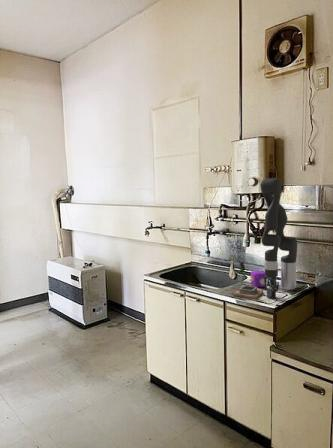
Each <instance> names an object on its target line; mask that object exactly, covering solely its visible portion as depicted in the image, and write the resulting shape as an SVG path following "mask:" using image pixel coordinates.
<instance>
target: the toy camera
mask: <svg viewBox="0 0 333 448" xmlns="http://www.w3.org/2000/svg"><path fill="white" fill-rule="evenodd" d="M264 277H266V276H265V270H264V269H260V270H252V271H251V272H250V284H251V286H254V287H257V288H266V287H265V283H264Z"/></svg>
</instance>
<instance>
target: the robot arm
mask: <svg viewBox="0 0 333 448" xmlns="http://www.w3.org/2000/svg"><path fill="white" fill-rule="evenodd" d="M282 188H283V184H282V180H281V179H280V178H279V177H273V178H272V177H271V178H263V179H262V180H261V181H260V191H261V193H262V196H263V198H264V200H265V203H266V206H267V210H266V213H265V215H264V230H263V232H262V233H263V234H262V236H261V245H263V246H264V247H273V248H272V249H267V250H265V251H264V271H265V276H266V277H264V283H265V287H264V288H266V289H267V285H270V288H271V290H272V298H275V297H277V296H276V295H277V292H278V291H279V288H281V289H282V290H286V291H287V290H288V291H290V290H291V291H293V289H294V290H296V289H297V256H298V239H297V238H296V237H295V236H286V235H285V234H284V230H285V227H286V225H287V224H288V219H289V218H288V215H287V211H286V209H285V207H284V206H283V205H282V204H280V202H281V196H282ZM271 231H274V233H270V232H271ZM279 250H280V251H284V252H285V251H286V252H288V254H287V255H282V256H281V257H280V282H279V281H277V277H278V276H279V263H278V254H279V253H278V252H279ZM273 285H274V286H273ZM279 286H280V287H279ZM273 287H274V288H273ZM295 288H296V289H295ZM275 299H276V298H275Z"/></svg>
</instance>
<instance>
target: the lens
mask: <svg viewBox="0 0 333 448" xmlns="http://www.w3.org/2000/svg"><path fill="white" fill-rule="evenodd" d="M273 286H274V285H273ZM273 288H274V287H273ZM276 297H277V296H276ZM276 297H275V298H272V290H271V288H270V285H267V288H266V298H267V299H269V300H275V299H276Z"/></svg>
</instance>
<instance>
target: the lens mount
mask: <svg viewBox="0 0 333 448" xmlns="http://www.w3.org/2000/svg"><path fill="white" fill-rule="evenodd" d="M263 294H264V290H263V289H258V287H254V286H253V285H247V284H246V285H242V286H241V287H240V288H239V289H238V290H236V291H235V292H234V293H232V296H233V297H237V296H239V297H238V298H246V299H252V300H257V299H258V298H259V297H260V296H262V295H263Z"/></svg>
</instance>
